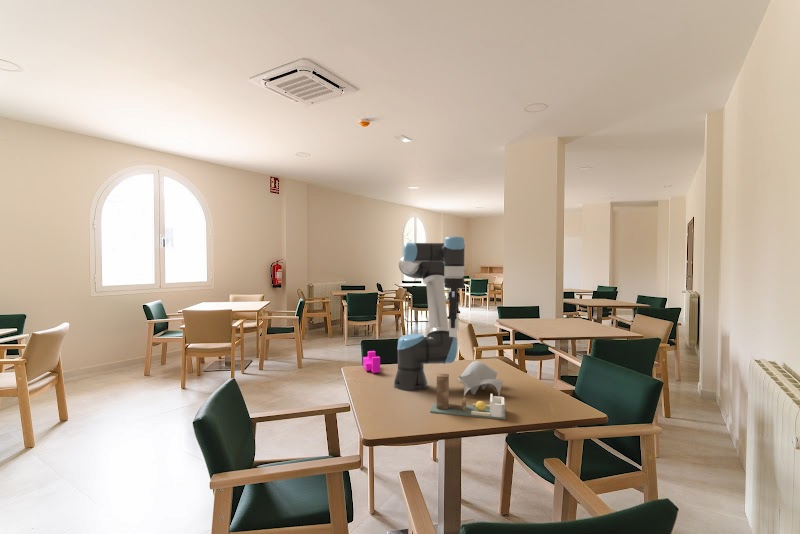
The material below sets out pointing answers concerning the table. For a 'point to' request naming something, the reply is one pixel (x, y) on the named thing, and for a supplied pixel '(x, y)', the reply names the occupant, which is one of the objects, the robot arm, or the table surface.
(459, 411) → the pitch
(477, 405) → the ball
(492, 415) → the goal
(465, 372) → the sculpture
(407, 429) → the table surface
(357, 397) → the table surface
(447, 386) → the tan l-shaped block
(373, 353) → the toy block
